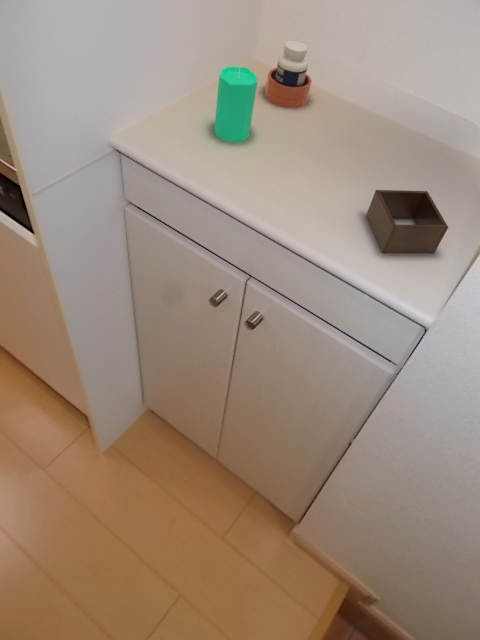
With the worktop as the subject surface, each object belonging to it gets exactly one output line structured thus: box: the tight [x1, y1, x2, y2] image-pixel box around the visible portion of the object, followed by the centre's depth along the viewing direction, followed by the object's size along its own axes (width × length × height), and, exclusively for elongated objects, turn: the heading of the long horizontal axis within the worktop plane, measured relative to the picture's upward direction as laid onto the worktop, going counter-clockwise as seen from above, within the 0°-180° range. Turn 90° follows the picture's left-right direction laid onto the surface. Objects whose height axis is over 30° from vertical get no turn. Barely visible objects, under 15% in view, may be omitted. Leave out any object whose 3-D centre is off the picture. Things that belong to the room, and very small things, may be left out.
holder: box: [365, 189, 449, 254], centre depth 75 cm, size 8×8×6 cm
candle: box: [213, 66, 259, 143], centre depth 84 cm, size 6×6×12 cm
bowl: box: [264, 67, 312, 109], centre depth 98 cm, size 8×8×4 cm
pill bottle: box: [275, 40, 309, 87], centre depth 95 cm, size 5×5×10 cm
